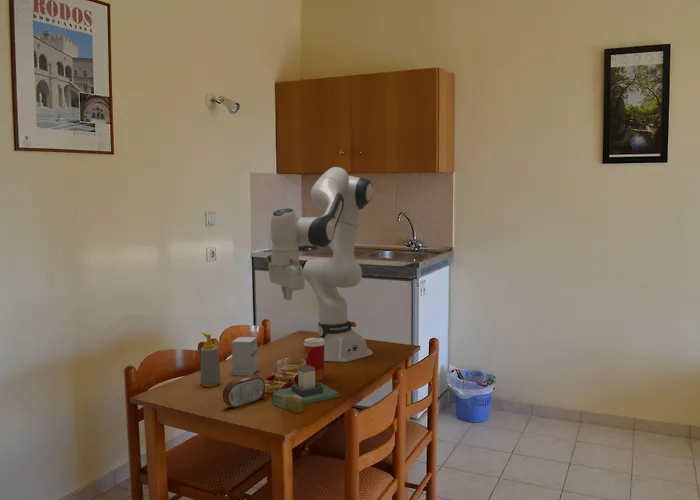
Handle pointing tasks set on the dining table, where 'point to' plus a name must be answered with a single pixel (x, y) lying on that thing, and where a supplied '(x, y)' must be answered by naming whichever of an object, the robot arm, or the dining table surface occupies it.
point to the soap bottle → (209, 364)
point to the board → (311, 393)
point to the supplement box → (244, 356)
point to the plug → (306, 377)
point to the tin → (243, 391)
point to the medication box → (288, 402)
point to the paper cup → (315, 356)
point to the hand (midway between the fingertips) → (287, 299)
